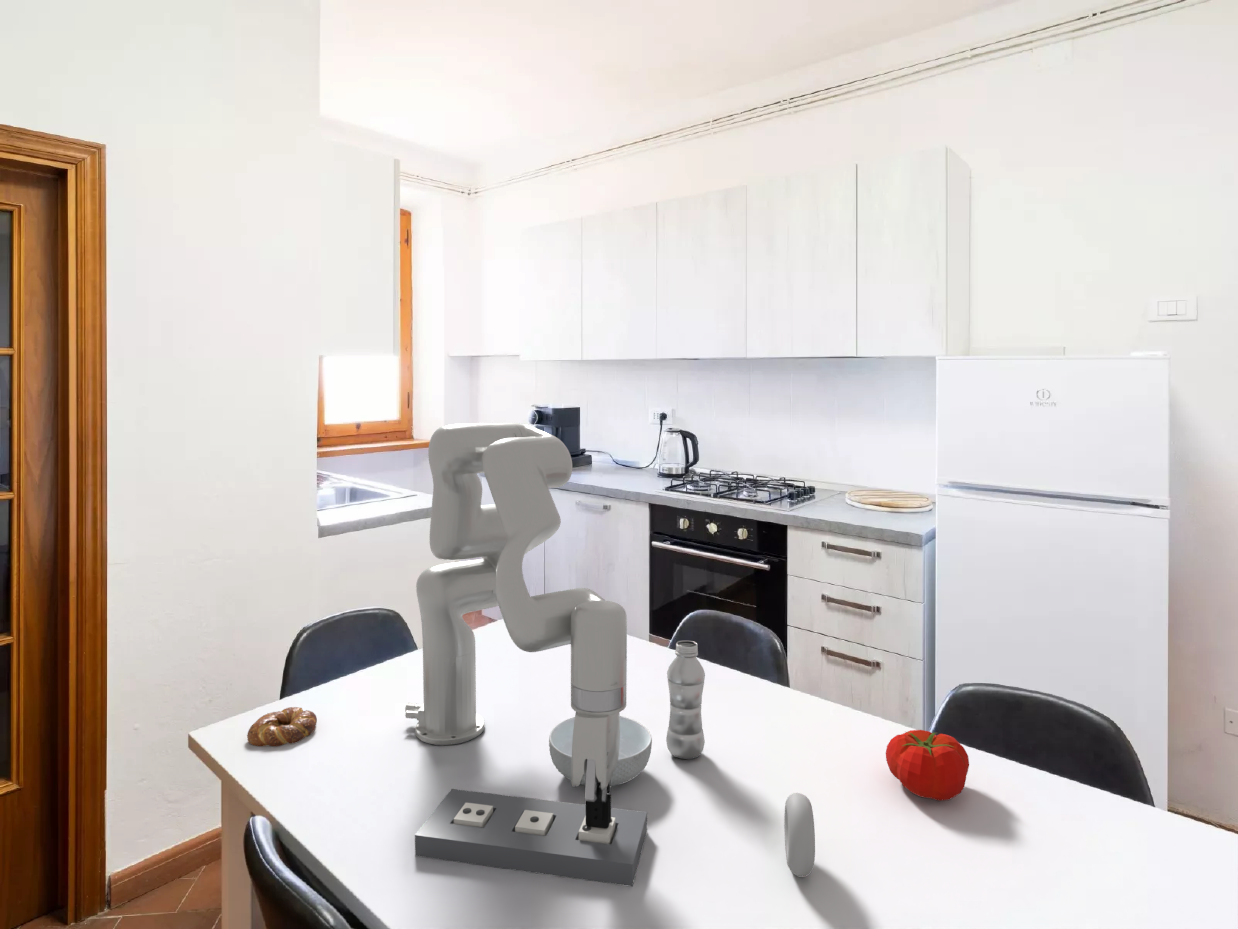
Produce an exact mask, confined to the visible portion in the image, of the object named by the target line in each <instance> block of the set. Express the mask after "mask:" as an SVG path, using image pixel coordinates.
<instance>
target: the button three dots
mask: <svg viewBox="0 0 1238 929" xmlns="http://www.w3.org/2000/svg"><path fill="white" fill-rule="evenodd" d="M614 835H615V817H611V821H610V823H609V827H608V828H598V827H590V826H587V825H586V815H585V818H584V820H583V822H582V825H581V827H580V829H579V840H581V841H589V842H596V843H604V844H612V841H613V838H614Z"/></svg>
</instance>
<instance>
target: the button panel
mask: <svg viewBox="0 0 1238 929" xmlns="http://www.w3.org/2000/svg"><path fill="white" fill-rule="evenodd" d="M465 803H474V804H482V805H490V806H493V814H492V816H491V817H490V819H489V821H488V822H487V824H486V825H485V827H484V828H481V827H473V826H466V825H458V824H454V818H455V816H456V815H457V814H458V812H459V811H460V810H461V808H462V807H463V805H464V804H465ZM524 810H530V811H539V812H547V813H553V824H552V826H551V828H550V830H549V832H548V834H547V836H543V835H535V834H527V833H520V832H515V826H516V824H517V823H518V821H519V819H520V817H521V816H522V814H523V812H524ZM585 815H586V804H583V803H574V802H566V801H565V802H564V801H557V800H549V799H540V798H532V797H525V796H524V797H523V796H515V795H508V794H499V793H490V792H481V791H476V790H475V791H473V790H467V789H466V790H465V789H458V788H451V789H450V790H449V791H448V793H447V794H446V795H445V797H444V798H443V799H442V800H441V802H439V804H438V805H437V807H435V809H434V811H433V812H432V813H431V814H430V815H429V816H428V818H427V819H426V821H424V823H423V824H422V825H421V827H420V828H419V829H418V830H417V832H415V834H414V856H415V857H419V858H420V857H421V858H426V859H433V860H440V861H442V860H443V861H448V862H454V863H455V862H457V863H463V864H471V865H476V866H483V867H484V866H485V867H492V868H497V869H498V868H500V869H505V870H511V871H513V870H514V871H521V872H527V873H536V874H541V875H547V876H549V875H550V876H553V877H554V876H555V877H562V878H571V879H576V880H577V879H578V880H583V881H591V882H596V883H597V882H598V883H606V884H612V885H619V886H626V887H633V885H634V881H635V877H636V875H637V870H638V866H639V863H640V859H641V855H642V852H643V847H644V844H645V841H646V837H647V833H648V812H647V811H640V810H632V809H631V810H630V809H624V808H616V807H615V808H614V807H611V817H615V835H614V838H613V841H612V844H604V843H596V842H589V841H581V840H579V829H580V827H581V825H582V822H583V820H584V818H585Z"/></svg>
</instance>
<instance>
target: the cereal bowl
mask: <svg viewBox="0 0 1238 929" xmlns="http://www.w3.org/2000/svg"><path fill="white" fill-rule="evenodd" d="M574 720H575V716H573V717H570V718H567V719H565V720H563V721H560V723H558V724H557V725H555V726H554V727H553V728H552V729H551V731H550V734H549V738H548V746H549V750H548V751H549V755H550V760H551V761H552V763H553V765H554V767H555V769H557V770H558V771H557V772H559V773H560V774H561V775H563V777H565V778H566V779H568V780H569V781H571V764H572V742H573V729H574ZM652 745H653V736H652V734H651V732H650V731H649V729H648V727H646V726H645V725H643V724H642V723H640V722H639V721H637V720H635V719H632V718H629V717H626V716H621V715H620V749H619V757H618V761H617V764H616V767H615V769H614V772H613V774H612V777H611V787H614V786H618V785H622V784H624V783H627V782H630V781H631V780H633V779H634V778H636V777H637V776H639V775H640V774H641V772H643V771H644V769H645V768H646V766H647V765H648V762H649V760H650V757H651V753H652ZM579 785H583V786H585V774H584V776H583V778H582V780H581V782H580V784H579Z"/></svg>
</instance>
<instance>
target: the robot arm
mask: <svg viewBox="0 0 1238 929" xmlns="http://www.w3.org/2000/svg"><path fill="white" fill-rule="evenodd" d="M427 455H428V462H429V463H428V464H429V468H430V473H431V476H432V478H431V479H432V483H433V489H432V490H433V491H432V501H431V512H430V523H429V524H430V525H429V547H430V551H431V553H432V555H433V556H434V557H435V558H437V559H438V560H441V561H447V563H441V564H436V565H434V566H430V567H428V568H427V569H425V570H423V571H422V572H421V573H420V574H419V576H418V578H417V580H416V585H415V588H416V589H415V591H416V598H417V602H418V603H417V604H418V610H419V613H420V621H421V622H420V623H421V634H422V674H423V675H422V680H423V682H422V687H423V688H422V689H423V703H422V704H419V703H416V702H407V703H406V705H405V708H404V709H405V714H404V716H405V719H415V720H416V721H418V722H417V723H416V724H415V730H414V732H415V736H416V737H417V739H418V740H420V741H422V742H423V743H427V744H430V745H438V746H448V745H450V746H451V745H458V744H461V743H465V742H468V741H471V740H473V739H475V738H477V737H479V736H480V735H481V734H482V733H483V732H484V729H485V718H483V716H482V715H480V714H478V713H477V690H476V689H477V687H476V686H477V683H476V679H477V677H476V675H477V674H476V671H477V670H476V666H477V665H476V660H477V659H476V658H477V657H476V636H475V633H474V631H473V629H472V627H471V626H470V625H469V624H468V623H467V622H466V621H465V620H464V618H463V616H464V615H465V614H469V613H472V612H478V611H482V610H487V609H493V608H496V607H498V608H499V609H500V610H499V611H500V613H501V617H502V620H503V622H504V625H505V628H506V629H507V633H508V635H509V637H510V639H511V640H512V642H513V643H514V645H515V646H516V647H517V648H519V650H521V651H523V652H527V653H538V652H543V651H546V650H551V649H555V648H559V647H562V646H567V645H570V706H571V709H572V710H573V711H574V712H575V714H574V717H575V720H574V729H573V742H572V764H571V780H570V784H571V786H572V787H574V788H576V787H579V786H580V785H581V784H580V782H581V780H582V778H583V776H584V774H585V785H584V787H585V788H584V789H585V790H584V792H585V793H584V801H585V805H586V825H587V826H590V827H598V828H608V827H609V823H610V821H611V808H612V794H611V790H612V786H611V777H612V774H613V772H614V769H615V767H616V764H617V761H618V757H619V749H620V716H621V715H620V712H622V711H624V710H625V709H626V707H627V686H628V683H627V677H628V675H627V672H628V670H627V669H628V668H627V665H628V664H627V663H628V659H627V657H628V656H627V652H628V650H627V649H628V645H627V644H628V643H627V642H628V618H627V612H626V610H625V608H624V607H623V606H622V605H621V604H620V603H617V602H614V601H610V600H605V599H604V598H603V597H602V596H600V595H599V593H597V592H596V591H595V590H593V589H590V588H587V587H576V588H572V589H571V588H570V589H565V590H559V591H554V592H548V593H543V594H536V595H532V596H531V595H530V593H529V590H528V587H527V585H526V582H525V577H524V574H523V561H524V557H525V555H526V554H527V553H528V552H530V551H532V550H533V549H535V548H536V547H538V546H541V544H543V543H544V542H546V541H547V540H548V539H550V538H552V537H553V536H554V535H555V534H556V533H557V532H558V530H559V528H560V527H561V516H560V514H559V511H558V509H557V507H556V503H555V502H554V501H555V500H554V499H553V496H552V494H551V491H550V489H557V488H561V487H563V486H565V484H567V483H568V482H569V481H570V479H571V476H572V474H573V461H572V456H571V453H570V451H569V449H568V447H567V446H566V445H565V443H564V442H563V441H562V440H561V439H560V438H559V437H556V436H555V435H553V434H550V433H548V432H546V431H544V430H541V429H539V428H537V427H534V426H532V425H528V424H526V423H520V422H519V423H518V422H500V423H499V422H497V423H493V422H492V423H490V422H475V423H474V422H471V423H454V424H448V425H447V424H446V425H443V426H441V427H439V428H437V429H436V430H435V431H434V432H433V433H432V435H431V437H430V440H429V444H428V454H427ZM478 474H484V477H485V480H486V482H487V485H488V487H489V490H490V493H491V494H490V495H491V496H492V499H493V502H494V504H492V503H491V504H482V497H483V485H482V481H481V479H480V477H479V475H478ZM477 558H478V559H477ZM448 561H449V562H448ZM450 561H452V562H450Z"/></svg>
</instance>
